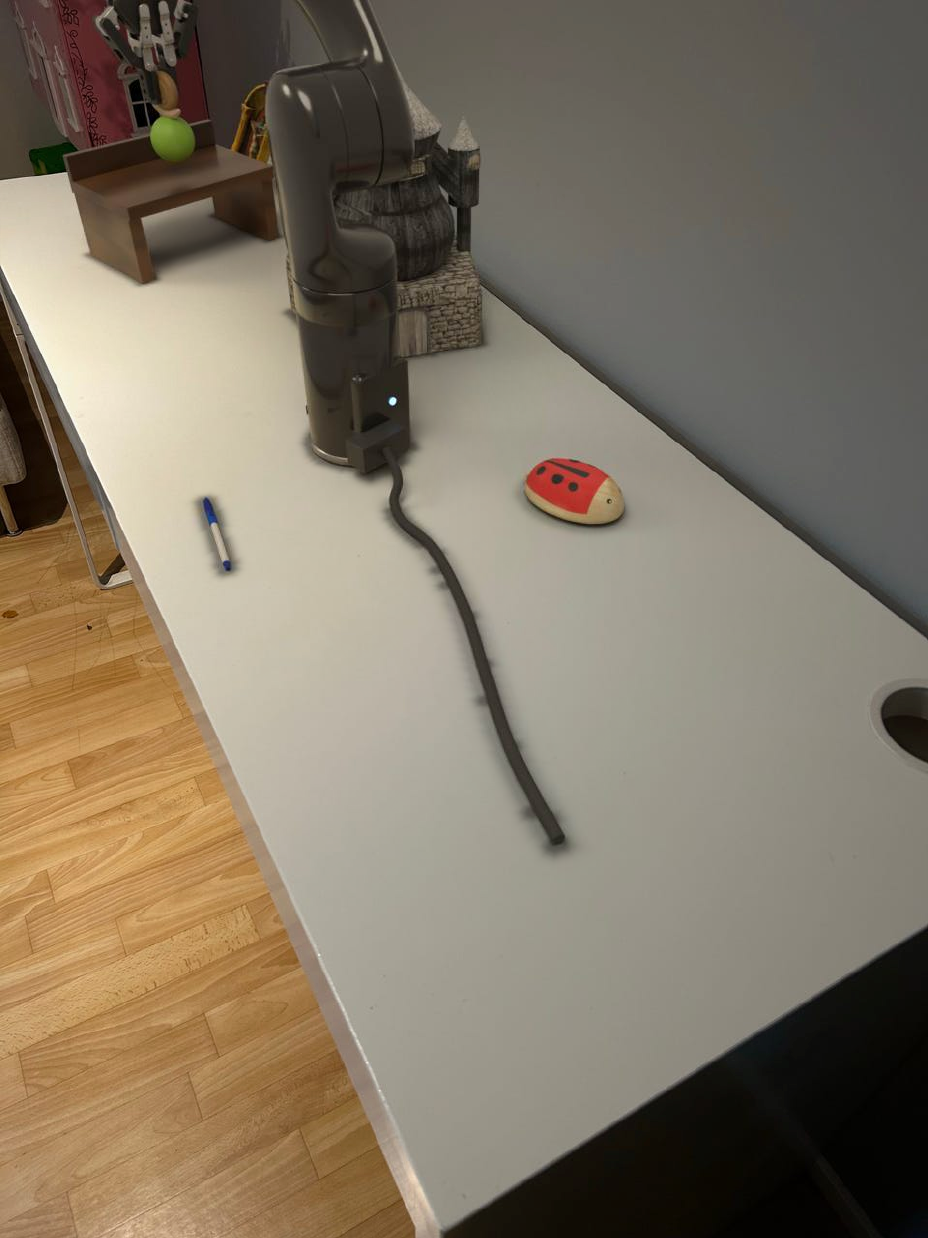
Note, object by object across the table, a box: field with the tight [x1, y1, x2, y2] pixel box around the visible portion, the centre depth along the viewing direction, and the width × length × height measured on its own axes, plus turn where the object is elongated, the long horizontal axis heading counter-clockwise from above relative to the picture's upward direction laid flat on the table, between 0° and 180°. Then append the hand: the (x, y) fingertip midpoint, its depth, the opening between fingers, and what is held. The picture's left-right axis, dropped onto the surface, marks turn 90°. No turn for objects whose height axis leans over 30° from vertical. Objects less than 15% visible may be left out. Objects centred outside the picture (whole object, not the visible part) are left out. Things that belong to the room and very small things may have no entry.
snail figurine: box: [149, 70, 195, 163], centre depth 117 cm, size 5×6×12 cm
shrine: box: [230, 78, 271, 164], centre depth 141 cm, size 12×8×15 cm
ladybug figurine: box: [524, 457, 625, 525], centre depth 85 cm, size 7×10×4 cm
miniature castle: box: [285, 54, 483, 358], centre depth 102 cm, size 22×16×30 cm
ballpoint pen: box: [202, 496, 231, 572], centre depth 82 cm, size 10×1×1 cm, turn 23°
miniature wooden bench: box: [62, 119, 280, 285], centre depth 125 cm, size 14×22×13 cm, turn 136°
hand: (163, 100), depth 116 cm, fingers closed on snail figurine
